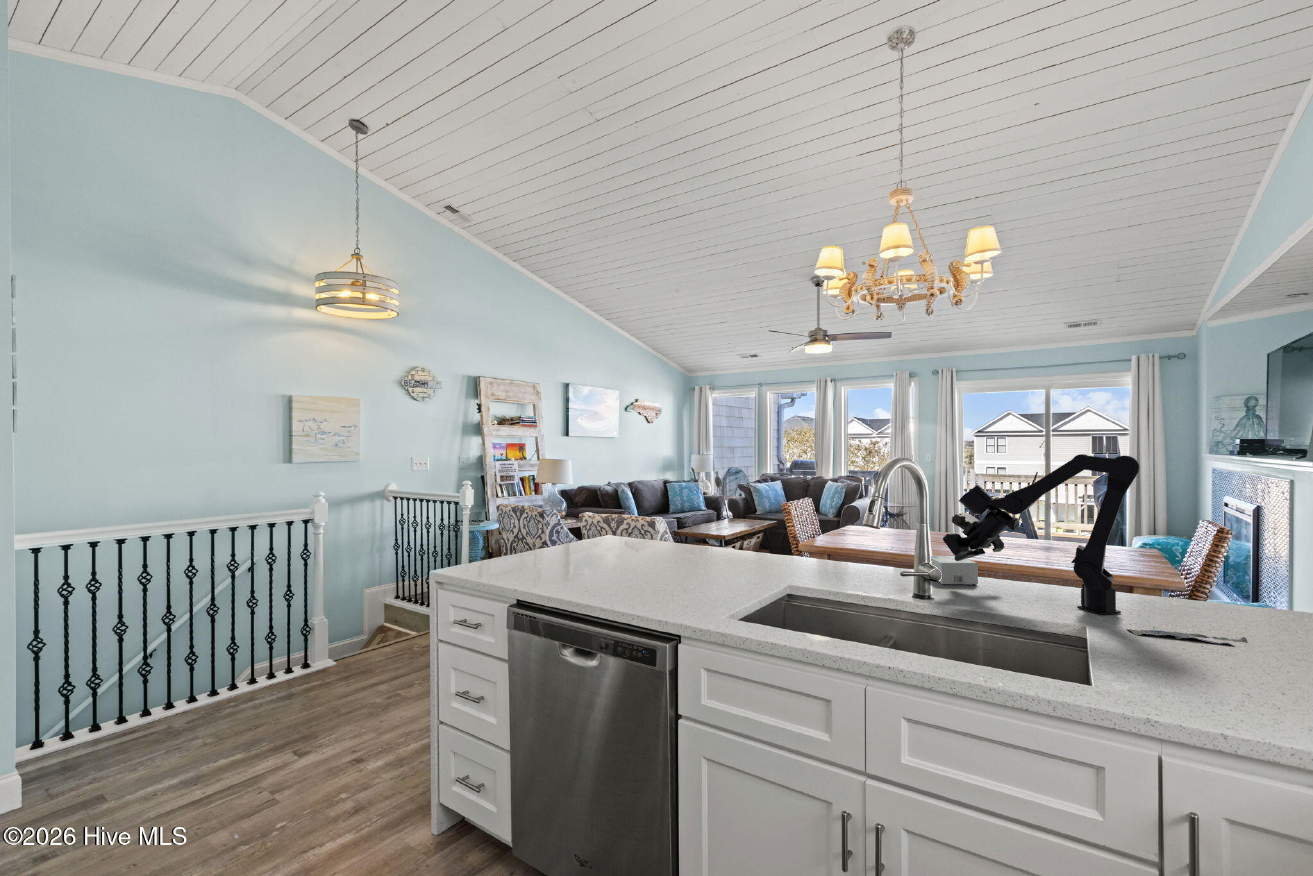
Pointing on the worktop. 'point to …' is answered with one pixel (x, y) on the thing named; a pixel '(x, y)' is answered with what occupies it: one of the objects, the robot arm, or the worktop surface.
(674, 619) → the worktop surface
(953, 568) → the light bulb box
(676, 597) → the worktop surface
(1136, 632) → the driftwood
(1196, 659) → the worktop surface
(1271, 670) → the worktop surface
